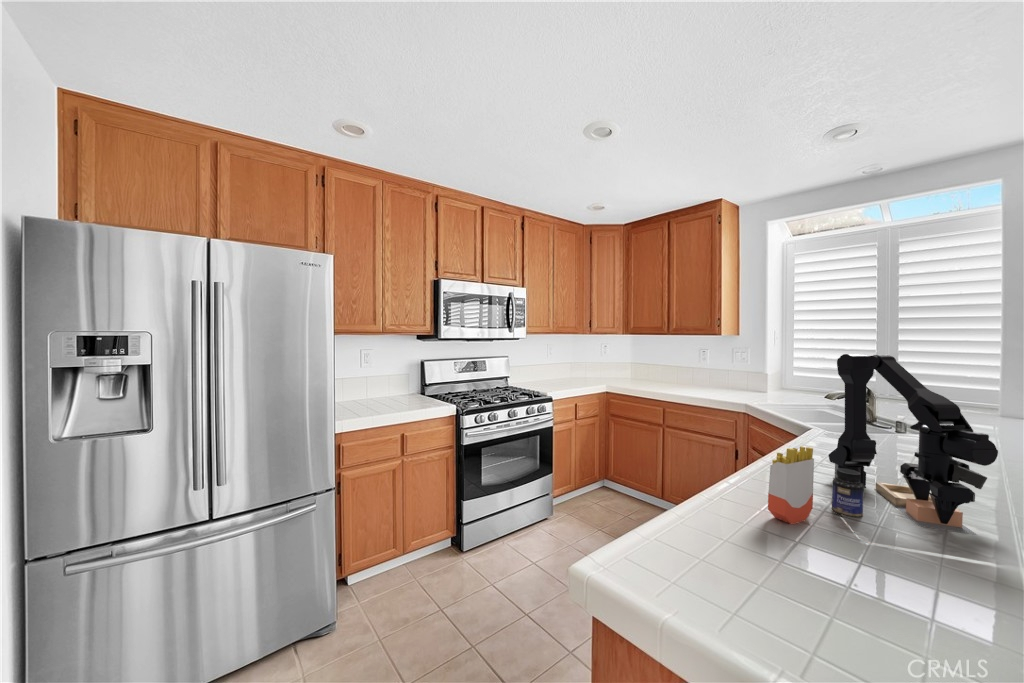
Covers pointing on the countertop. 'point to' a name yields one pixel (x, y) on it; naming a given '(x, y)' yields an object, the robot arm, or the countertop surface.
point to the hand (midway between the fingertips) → (933, 515)
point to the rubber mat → (933, 525)
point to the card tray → (896, 493)
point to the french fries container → (792, 485)
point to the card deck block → (930, 512)
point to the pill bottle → (847, 493)
